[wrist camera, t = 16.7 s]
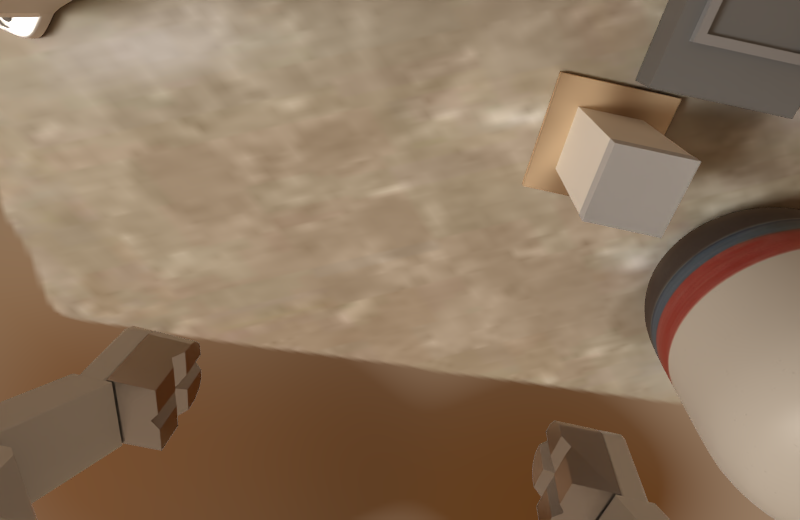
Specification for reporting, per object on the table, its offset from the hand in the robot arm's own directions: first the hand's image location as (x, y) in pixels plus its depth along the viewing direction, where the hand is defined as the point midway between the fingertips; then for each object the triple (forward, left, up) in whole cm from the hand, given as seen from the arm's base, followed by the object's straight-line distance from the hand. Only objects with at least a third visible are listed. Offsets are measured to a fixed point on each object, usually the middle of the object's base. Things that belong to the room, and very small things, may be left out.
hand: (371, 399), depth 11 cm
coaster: (+13, 0, -31) cm, 34 cm away
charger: (+13, 0, -30) cm, 33 cm away
